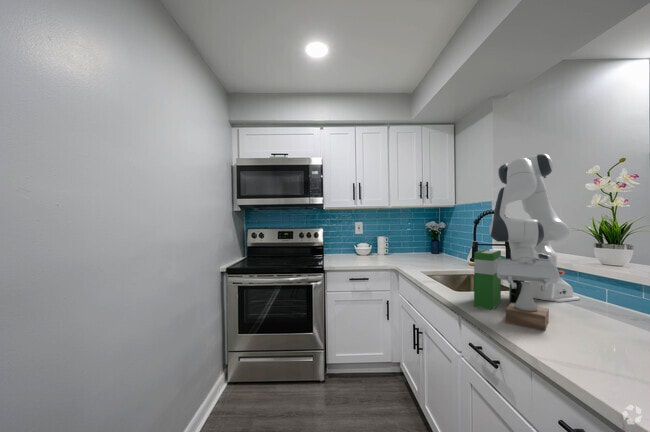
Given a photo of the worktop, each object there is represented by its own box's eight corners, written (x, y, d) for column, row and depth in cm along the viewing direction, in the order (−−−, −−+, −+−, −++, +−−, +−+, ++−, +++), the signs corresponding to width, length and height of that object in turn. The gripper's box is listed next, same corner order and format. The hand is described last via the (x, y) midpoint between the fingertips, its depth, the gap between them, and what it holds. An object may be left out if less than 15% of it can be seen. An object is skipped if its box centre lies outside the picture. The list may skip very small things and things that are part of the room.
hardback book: (483, 298, 143) (483, 249, 144) (500, 300, 139) (500, 250, 139) (474, 306, 130) (474, 252, 130) (492, 309, 125) (493, 254, 125)
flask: (542, 312, 107) (542, 285, 107) (520, 311, 107) (520, 284, 108) (530, 306, 114) (530, 280, 114) (510, 305, 115) (511, 280, 115)
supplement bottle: (507, 302, 136) (507, 276, 136) (510, 299, 141) (510, 274, 141) (525, 305, 131) (525, 279, 131) (527, 302, 136) (528, 276, 136)
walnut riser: (511, 314, 119) (511, 302, 119) (548, 321, 111) (548, 308, 111) (505, 322, 110) (505, 309, 110) (545, 330, 102) (545, 316, 102)
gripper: (495, 253, 121) (497, 282, 112) (556, 256, 112) (564, 287, 103) (494, 263, 125) (496, 290, 116) (553, 266, 116) (560, 296, 107)
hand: (528, 289), depth 110 cm, fingers open, 8 cm apart
